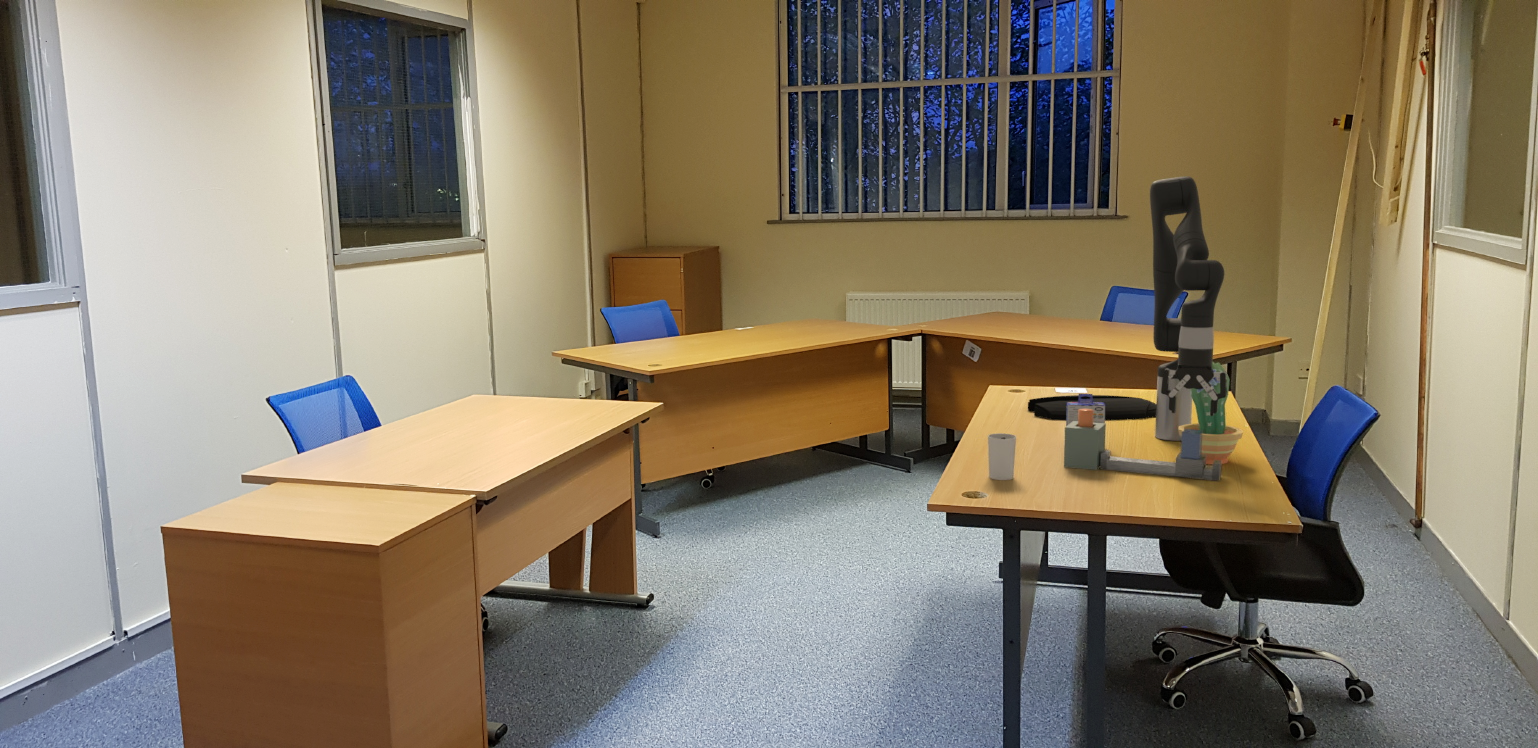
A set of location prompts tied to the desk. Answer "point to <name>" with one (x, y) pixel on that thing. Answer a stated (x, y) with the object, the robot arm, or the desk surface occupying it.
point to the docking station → (1113, 404)
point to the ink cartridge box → (1085, 404)
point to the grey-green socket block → (1084, 445)
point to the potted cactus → (1213, 423)
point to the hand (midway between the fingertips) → (1192, 414)
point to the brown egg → (1085, 418)
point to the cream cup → (1001, 456)
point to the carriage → (1191, 454)
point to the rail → (1154, 467)
